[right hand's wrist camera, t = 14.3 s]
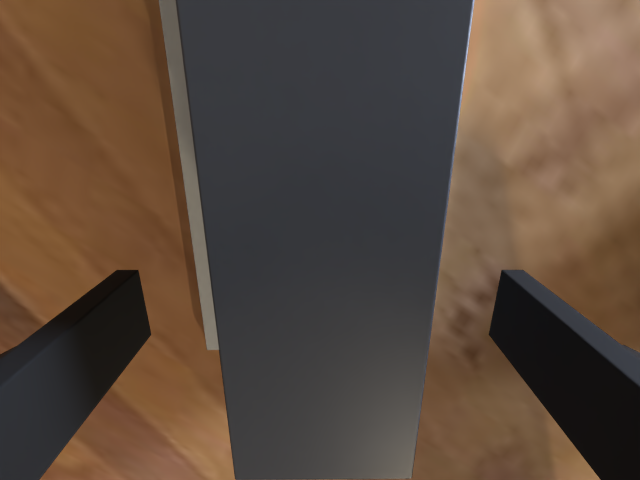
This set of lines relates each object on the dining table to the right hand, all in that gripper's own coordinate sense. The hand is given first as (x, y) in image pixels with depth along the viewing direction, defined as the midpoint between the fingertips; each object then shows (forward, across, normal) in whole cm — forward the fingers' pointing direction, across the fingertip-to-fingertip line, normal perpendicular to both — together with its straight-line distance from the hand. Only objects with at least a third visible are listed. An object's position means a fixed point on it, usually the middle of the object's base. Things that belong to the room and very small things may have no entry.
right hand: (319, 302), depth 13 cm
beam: (+6, 0, -12) cm, 13 cm away
